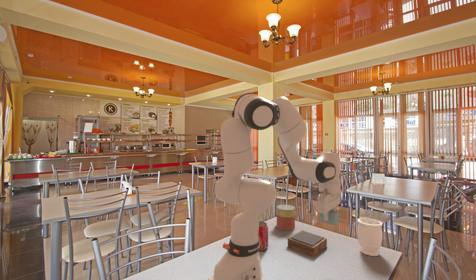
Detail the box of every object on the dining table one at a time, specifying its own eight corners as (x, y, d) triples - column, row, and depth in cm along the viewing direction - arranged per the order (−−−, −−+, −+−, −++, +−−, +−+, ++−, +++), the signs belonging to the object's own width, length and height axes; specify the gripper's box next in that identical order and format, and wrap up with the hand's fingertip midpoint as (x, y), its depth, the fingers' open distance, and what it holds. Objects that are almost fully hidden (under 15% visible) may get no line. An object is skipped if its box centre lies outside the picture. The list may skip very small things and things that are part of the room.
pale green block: (335, 225, 96) (335, 214, 96) (319, 221, 101) (319, 210, 101) (338, 222, 100) (338, 211, 100) (323, 218, 104) (323, 208, 104)
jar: (369, 245, 115) (370, 216, 115) (387, 256, 105) (388, 224, 105) (352, 248, 112) (352, 218, 112) (368, 259, 102) (369, 226, 102)
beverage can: (251, 243, 117) (251, 220, 117) (266, 243, 117) (266, 220, 117) (253, 251, 109) (253, 227, 109) (269, 251, 110) (270, 226, 109)
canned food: (293, 223, 145) (293, 204, 145) (296, 230, 134) (296, 210, 134) (276, 222, 146) (276, 204, 146) (276, 229, 135) (277, 209, 135)
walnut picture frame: (313, 256, 105) (313, 246, 105) (287, 246, 114) (287, 237, 114) (326, 246, 114) (326, 237, 114) (301, 237, 124) (301, 229, 124)
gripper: (328, 193, 90) (327, 227, 91) (343, 185, 106) (343, 214, 106) (313, 190, 95) (312, 223, 95) (329, 183, 110) (329, 211, 110)
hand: (329, 218), depth 100 cm, fingers closed on pale green block, 4 cm apart
